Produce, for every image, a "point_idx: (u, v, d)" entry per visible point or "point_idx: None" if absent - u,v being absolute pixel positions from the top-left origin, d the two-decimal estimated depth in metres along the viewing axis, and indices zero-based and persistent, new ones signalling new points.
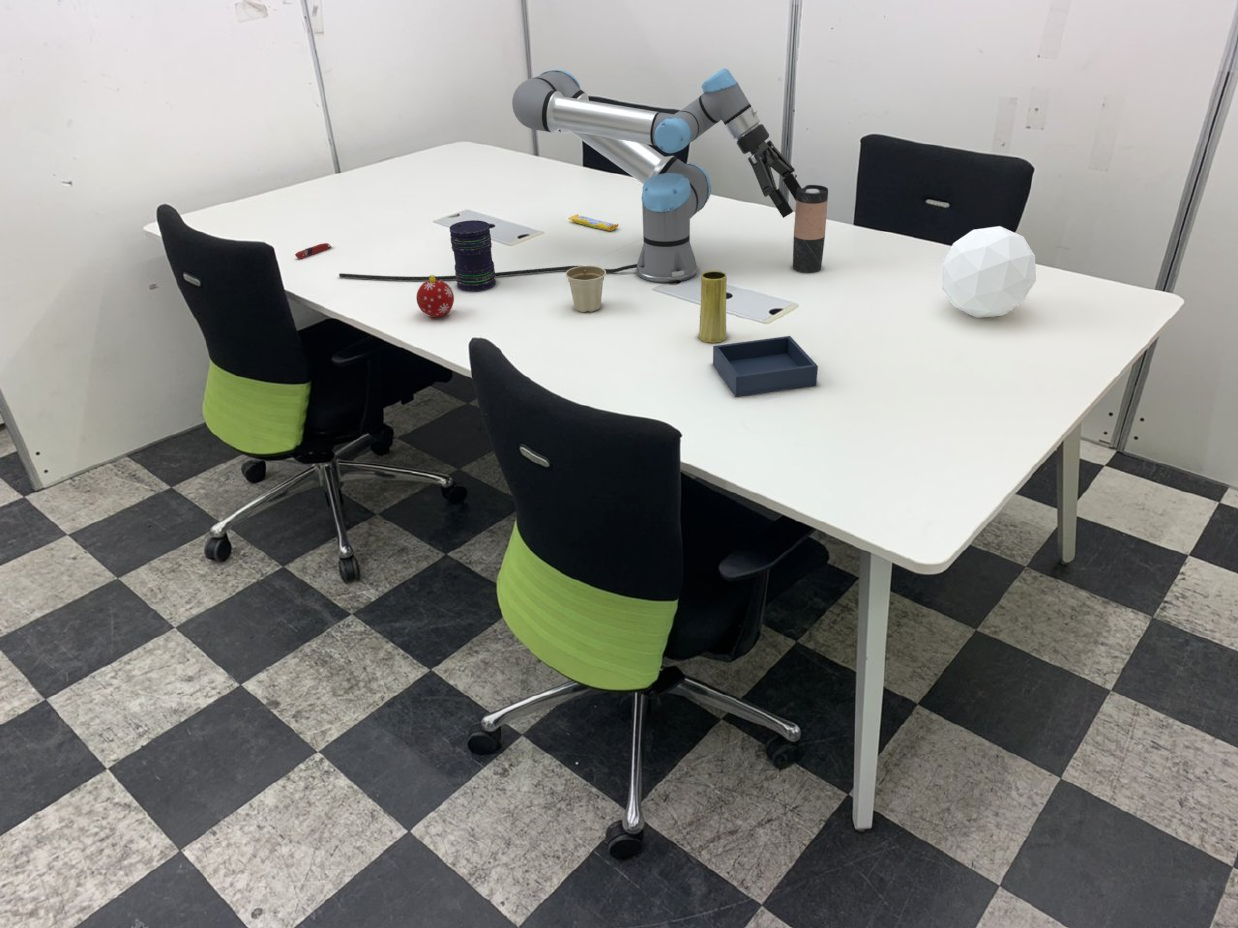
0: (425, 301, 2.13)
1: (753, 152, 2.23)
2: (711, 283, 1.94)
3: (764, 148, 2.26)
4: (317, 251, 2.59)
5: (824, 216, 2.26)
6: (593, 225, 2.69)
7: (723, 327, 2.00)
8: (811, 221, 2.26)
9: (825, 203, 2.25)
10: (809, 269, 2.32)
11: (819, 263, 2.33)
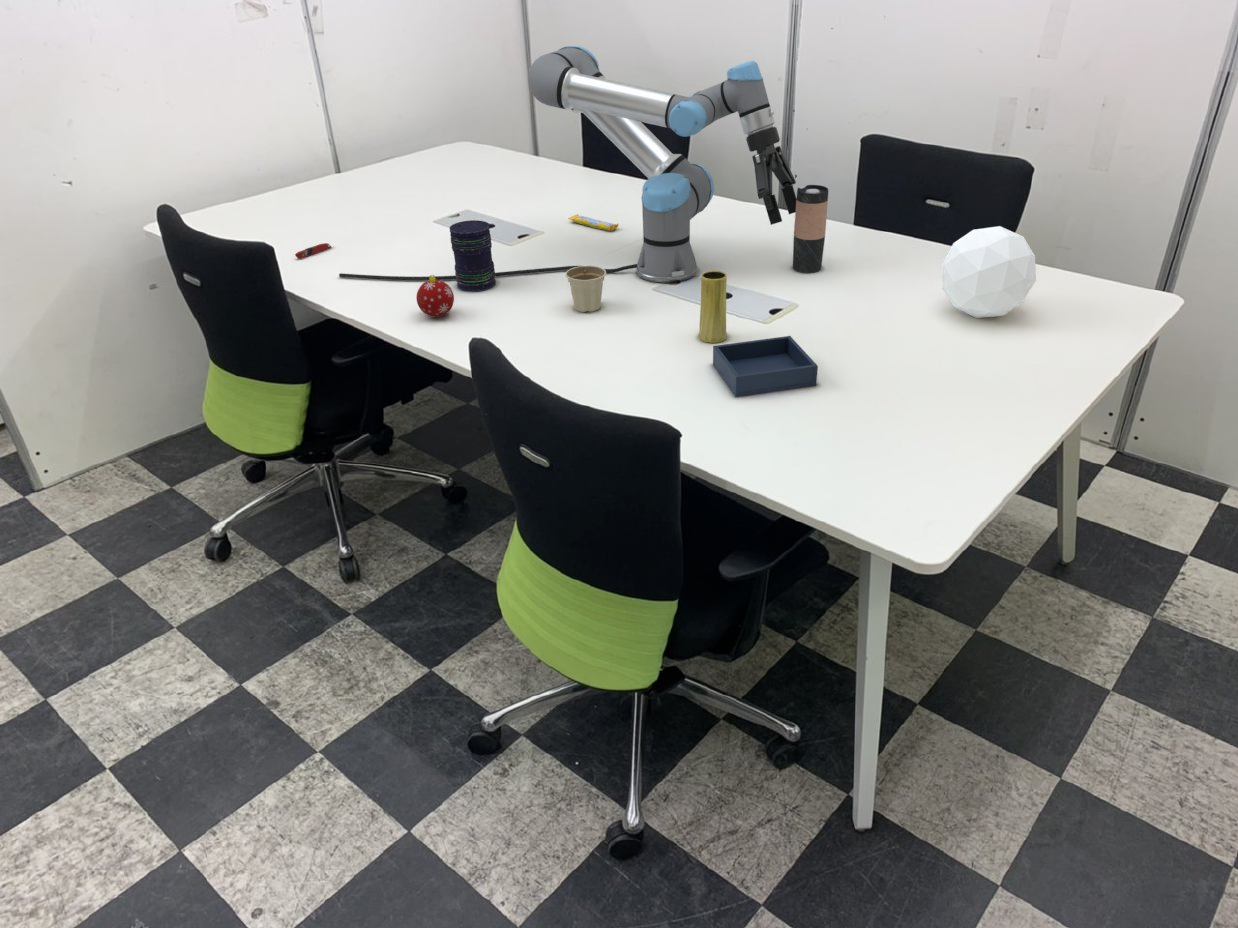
0: (425, 301, 2.13)
1: (759, 152, 2.20)
2: (711, 283, 1.94)
3: (771, 151, 2.23)
4: (317, 251, 2.59)
5: (824, 216, 2.26)
6: (593, 225, 2.69)
7: (723, 327, 2.00)
8: (811, 221, 2.26)
9: (825, 203, 2.25)
10: (809, 269, 2.32)
11: (819, 263, 2.33)
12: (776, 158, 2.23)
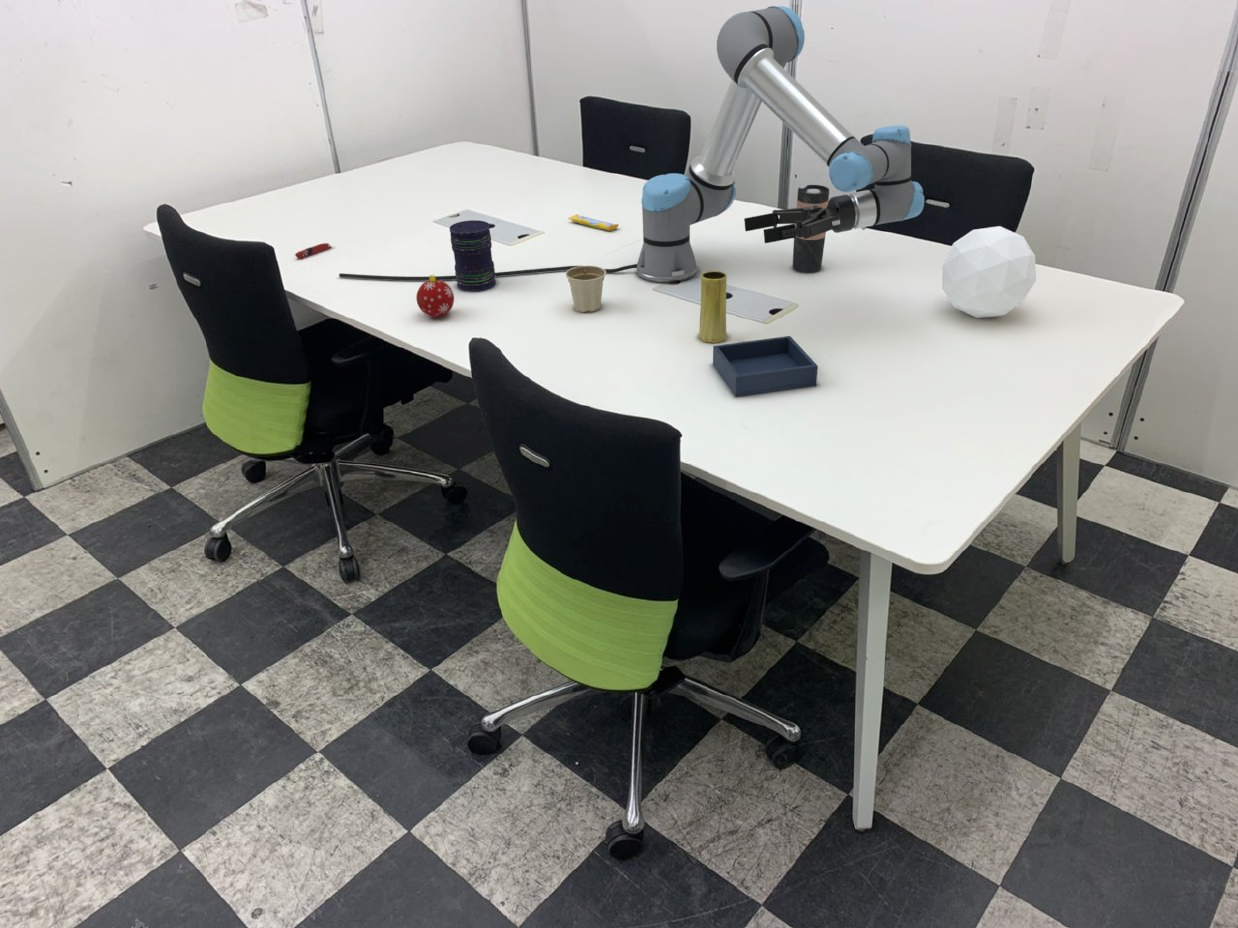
0: (425, 301, 2.13)
1: None
2: (711, 283, 1.94)
3: None
4: (317, 251, 2.59)
5: None
6: (593, 225, 2.69)
7: (723, 327, 2.00)
8: None
9: (826, 203, 2.25)
10: (809, 269, 2.32)
11: (819, 263, 2.33)
12: None
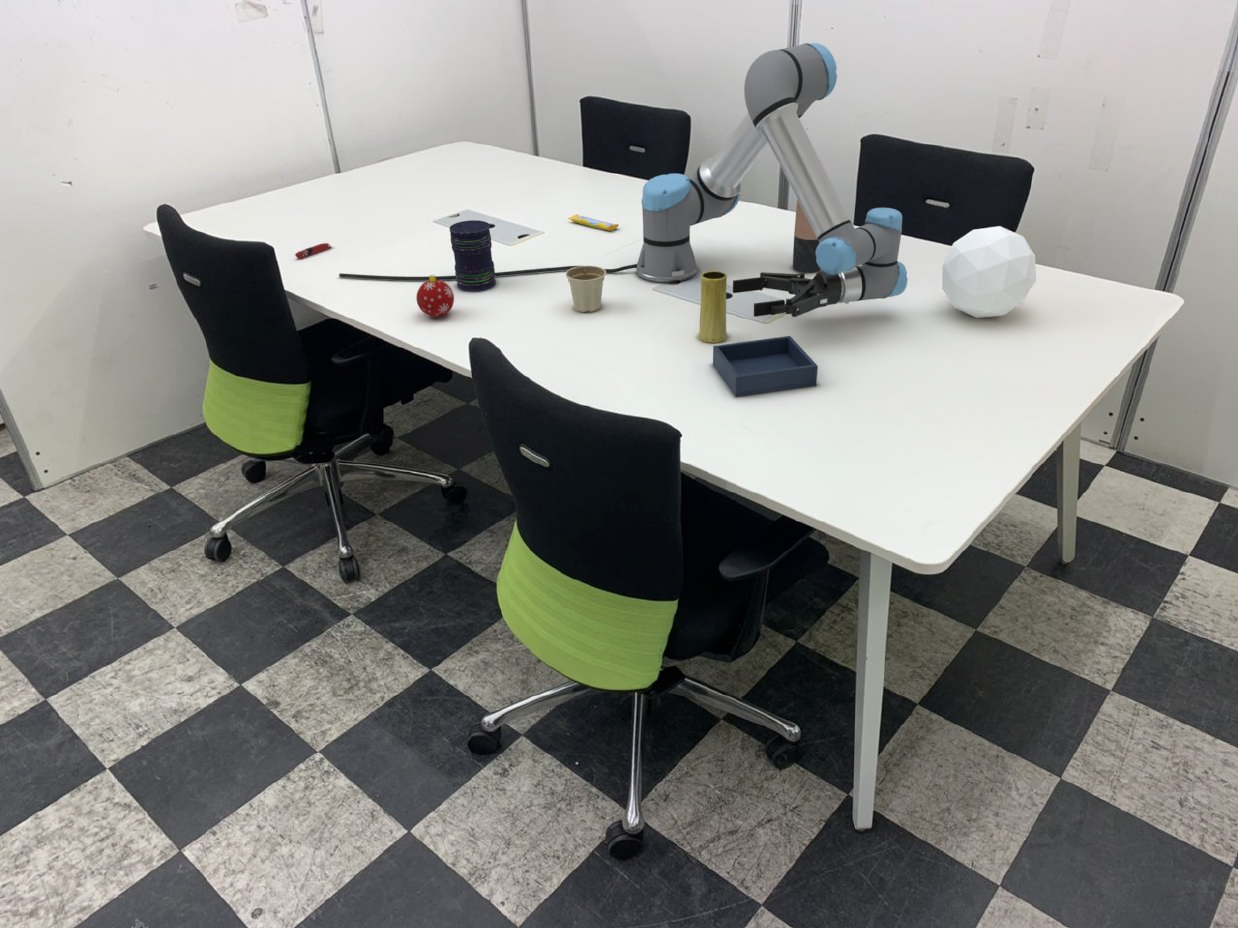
0: (425, 301, 2.13)
1: (823, 294, 1.99)
2: (711, 283, 1.94)
3: None
4: (317, 251, 2.59)
5: None
6: (593, 225, 2.69)
7: (723, 327, 2.00)
8: None
9: None
10: (809, 269, 2.32)
11: None
12: None
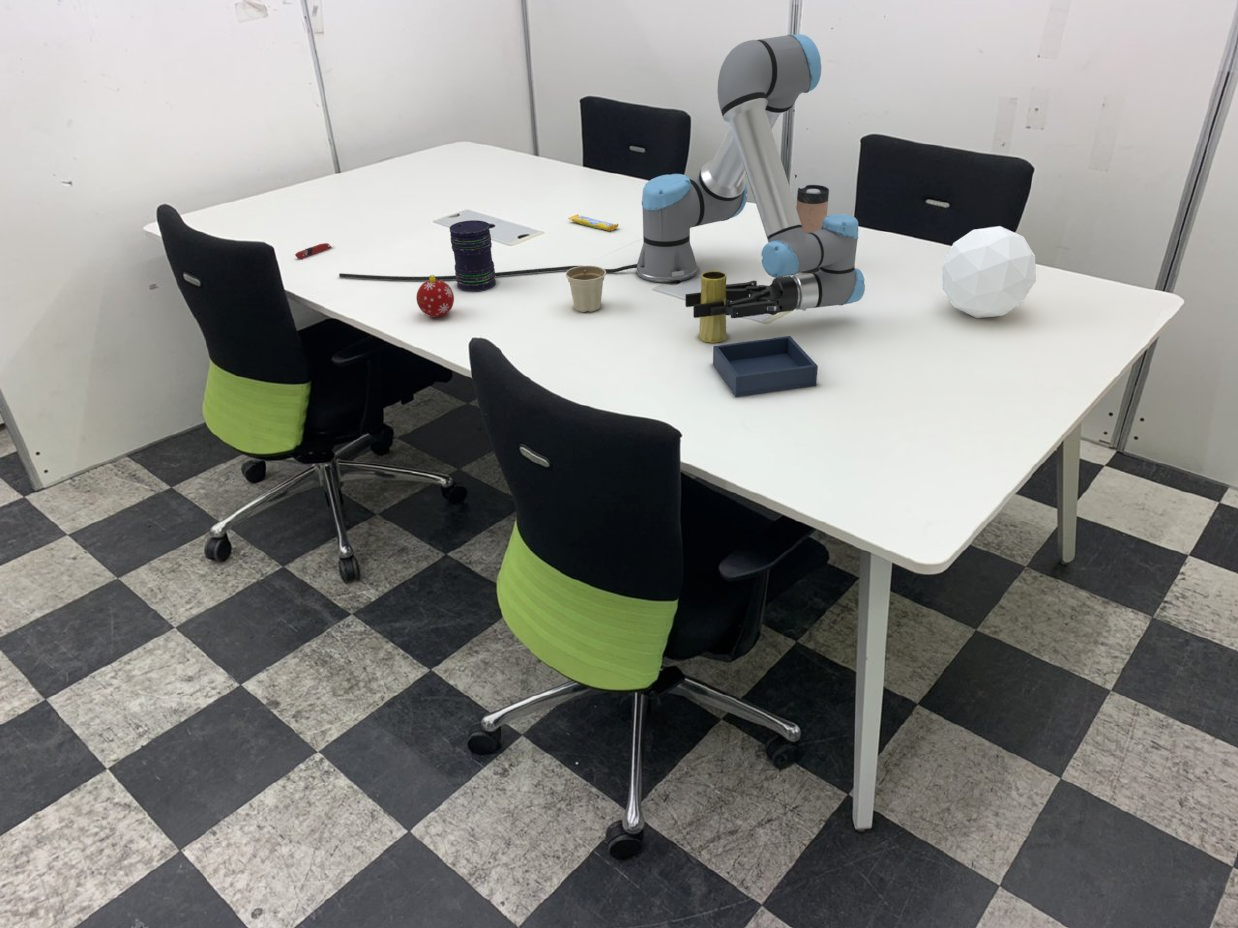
0: (425, 301, 2.13)
1: (779, 301, 1.98)
2: (711, 283, 1.94)
3: None
4: (317, 251, 2.59)
5: (825, 216, 2.26)
6: (593, 225, 2.69)
7: (723, 327, 2.00)
8: (812, 222, 2.26)
9: (826, 203, 2.25)
10: None
11: None
12: None
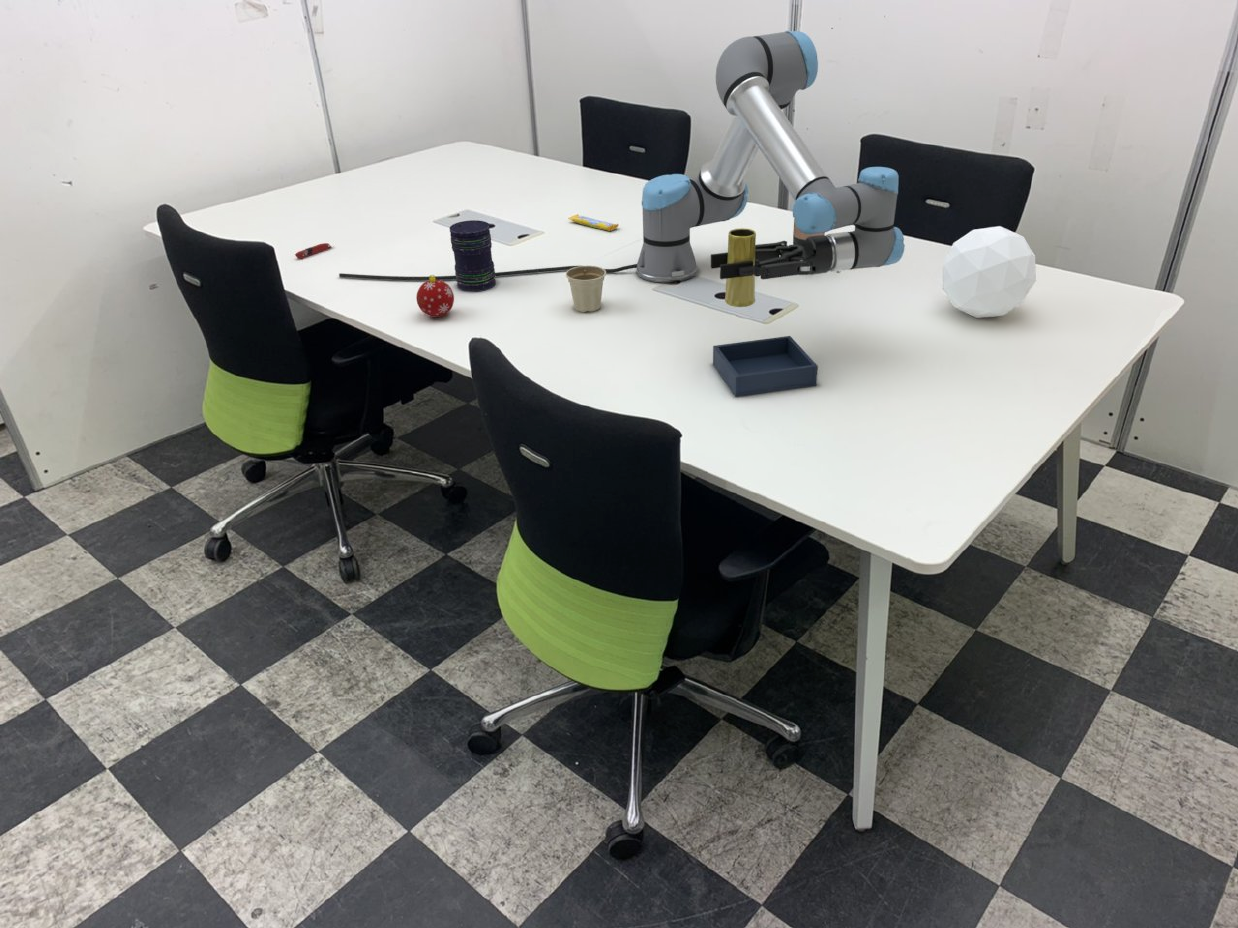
0: (425, 301, 2.13)
1: (812, 261, 1.83)
2: (740, 241, 1.79)
3: None
4: (317, 251, 2.59)
5: None
6: (593, 225, 2.69)
7: (751, 290, 1.85)
8: None
9: None
10: None
11: None
12: None
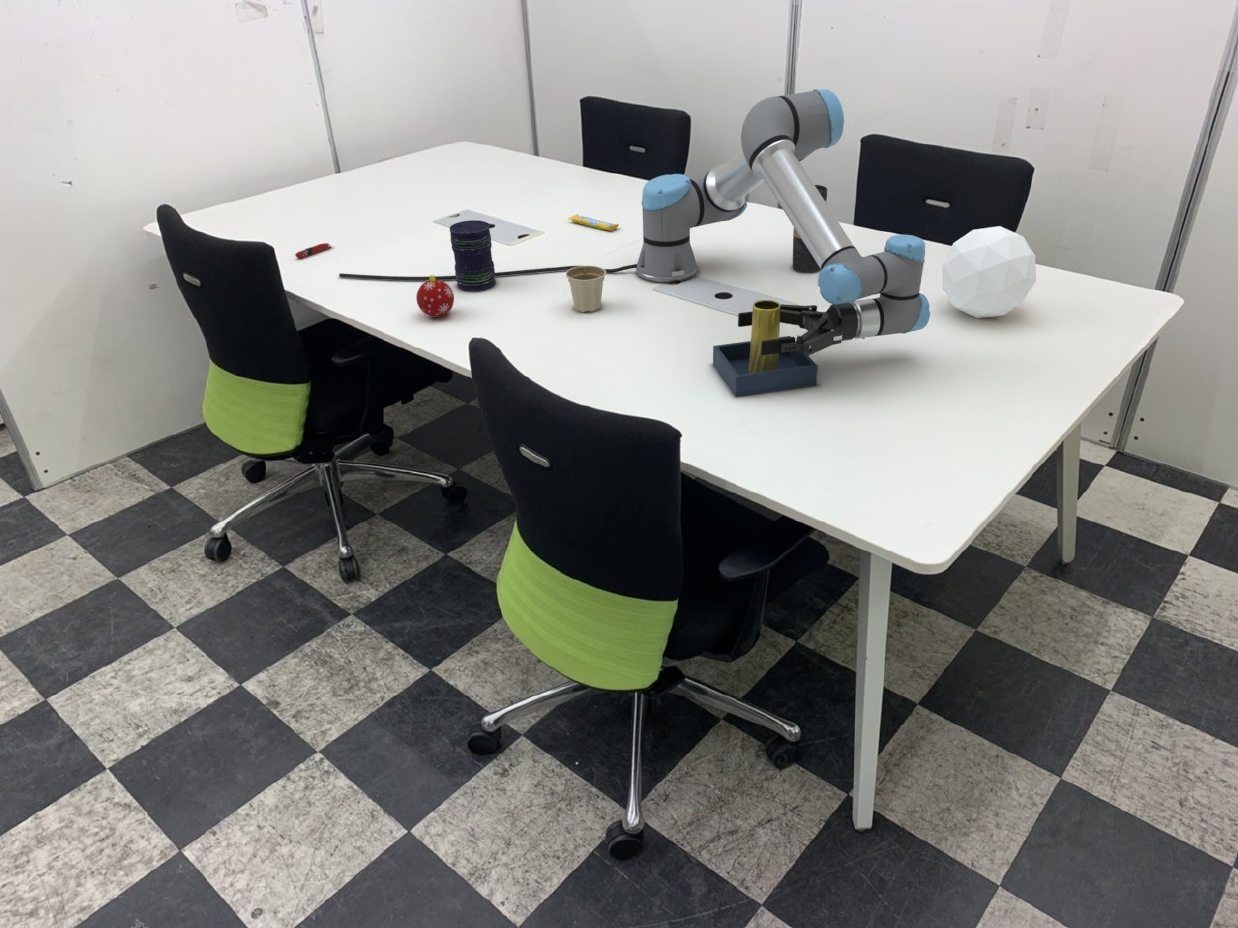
0: (425, 301, 2.13)
1: (838, 329, 1.81)
2: (764, 314, 1.78)
3: None
4: (317, 251, 2.59)
5: None
6: (593, 225, 2.69)
7: (775, 361, 1.83)
8: None
9: None
10: (810, 269, 2.32)
11: None
12: None
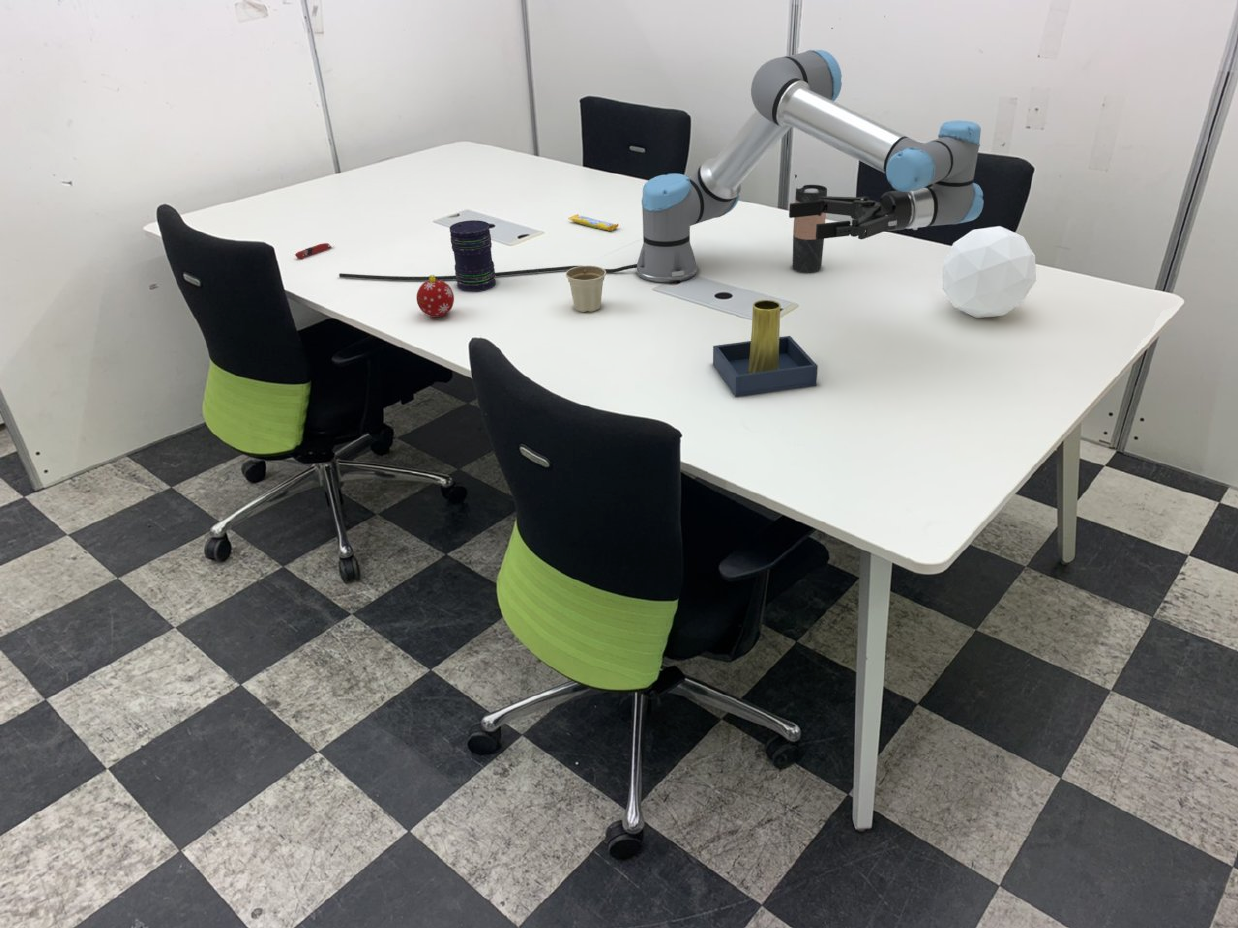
0: (425, 301, 2.13)
1: None
2: (764, 314, 1.78)
3: None
4: (317, 251, 2.59)
5: (824, 215, 2.27)
6: (593, 225, 2.69)
7: (775, 361, 1.83)
8: (811, 221, 2.26)
9: None
10: (810, 269, 2.32)
11: (820, 262, 2.33)
12: None
